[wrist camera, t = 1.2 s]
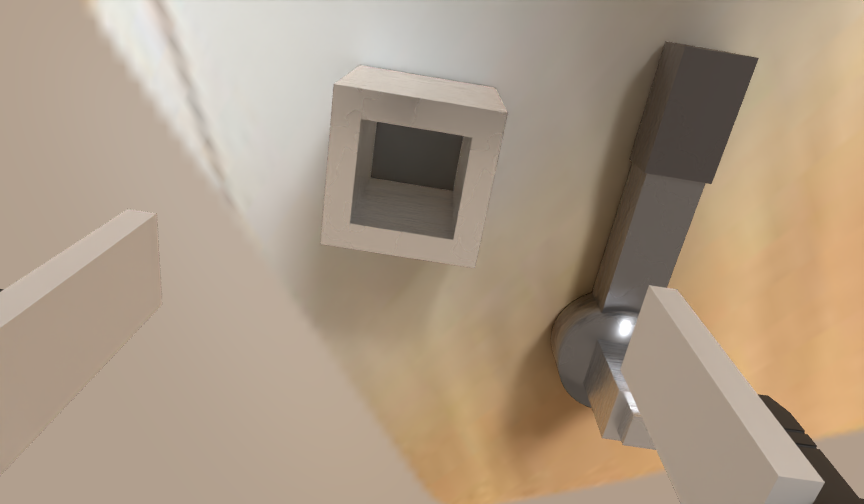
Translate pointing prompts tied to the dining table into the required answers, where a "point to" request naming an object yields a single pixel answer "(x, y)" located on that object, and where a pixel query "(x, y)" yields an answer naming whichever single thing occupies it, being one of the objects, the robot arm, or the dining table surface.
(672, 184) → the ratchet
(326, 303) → the dining table surface
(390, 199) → the socket
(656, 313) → the robot arm
